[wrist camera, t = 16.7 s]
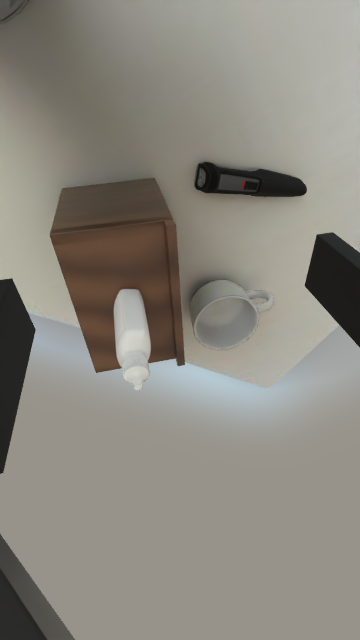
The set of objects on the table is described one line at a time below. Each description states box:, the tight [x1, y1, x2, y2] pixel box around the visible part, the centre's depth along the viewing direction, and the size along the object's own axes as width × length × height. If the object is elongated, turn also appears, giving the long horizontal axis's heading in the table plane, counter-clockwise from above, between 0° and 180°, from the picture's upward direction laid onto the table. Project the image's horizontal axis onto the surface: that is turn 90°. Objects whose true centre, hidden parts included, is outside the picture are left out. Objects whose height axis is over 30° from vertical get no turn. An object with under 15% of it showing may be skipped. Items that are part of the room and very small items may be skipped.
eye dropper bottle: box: [114, 289, 151, 390], centre depth 33 cm, size 4×6×12 cm
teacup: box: [189, 280, 274, 350], centre depth 54 cm, size 14×11×8 cm
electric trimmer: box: [195, 162, 307, 197], centre depth 44 cm, size 4×16×3 cm, turn 81°
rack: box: [50, 178, 185, 373], centre depth 42 cm, size 20×12×16 cm, turn 3°
